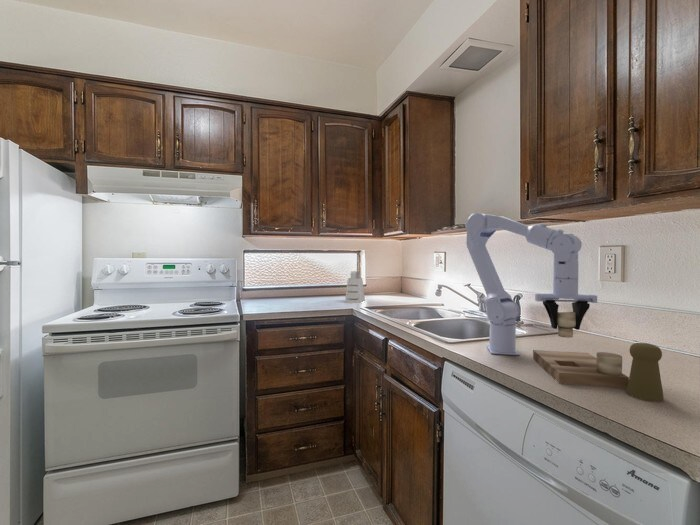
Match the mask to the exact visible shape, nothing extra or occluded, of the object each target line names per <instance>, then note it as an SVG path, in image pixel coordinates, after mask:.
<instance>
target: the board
mask: <svg viewBox="0 0 700 525" xmlns="http://www.w3.org/2000/svg"><path fill="white" fill-rule="evenodd" d="M532 359H533V360H534V361H535V362H536V363H537V364H538V365H540V367H541V366H542V367H543V368H544V369H543V368H542V367H541V368H542V369H543V370H545V372H547V374H548V375H550V376H551V377H552V378H553V379H554V380H555V379H556V380H557V381H558V382H559V383H558V382H557V381H556V380H555V381H556V382H557V383H558V384H562V383H567V384H566V385H576V384H577V385H578V386H589V385H592V386H593V387H607V388H619V389H627V387H628V381H629V376H628V375H626V374H624V373H623V356H622V355H621V354H618V353H612V352H607V351H599V352H597V353H596V356H594V355H592V354H590V353H588V352H578V351H577V352H575V351H557V350H540V349H539V350H538V349H537V350H535V349H533V351H532Z"/></svg>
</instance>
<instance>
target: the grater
mask: <svg viewBox="0 0 700 525" xmlns="http://www.w3.org/2000/svg"><path fill="white" fill-rule="evenodd" d="M363 282H364V280H363V278H362V277H360V271H357V270H356V271H355V270H354V271H350V277H348V278H347V283H346V290H345V298H344V299H345V300H344V304H353V303H361V302H363V301H365V302H366V299H365V291H364V290H365V289H364V283H363ZM361 304H362V303H361Z"/></svg>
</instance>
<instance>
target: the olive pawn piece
mask: <svg viewBox="0 0 700 525" xmlns="http://www.w3.org/2000/svg"><path fill="white" fill-rule="evenodd" d="M629 355H630V356H631V357H632V360H631V365H630V371H629V376H628V377H629V381H628V387H627V388H626V394H627V395H629V396H630V397H632V396H633V397H632V398H635V399H638V400H642V401H647V402H653V403H654V402H655V403H660V402H664V400H665V398H664V391H663V384H662V379H661V377H662V376H661V373H660V372H661V371H660V365H659V361H660V360H661V359H662V356H663V352H662V349H661V348H660V347H659V346H657V345H654V344H651V343H647V342H635V343H632V344H631V345H630V347H629Z"/></svg>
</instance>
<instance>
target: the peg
mask: <svg viewBox="0 0 700 525" xmlns="http://www.w3.org/2000/svg"><path fill="white" fill-rule="evenodd" d="M575 326H576V313H575V312H573V311H571V310H570V311H569V310H558V313H557V331H558V332H557V334H558V335H557V336H558V337H561V338H567V339H569V338H573V337H574V328H573V327H575Z"/></svg>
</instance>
